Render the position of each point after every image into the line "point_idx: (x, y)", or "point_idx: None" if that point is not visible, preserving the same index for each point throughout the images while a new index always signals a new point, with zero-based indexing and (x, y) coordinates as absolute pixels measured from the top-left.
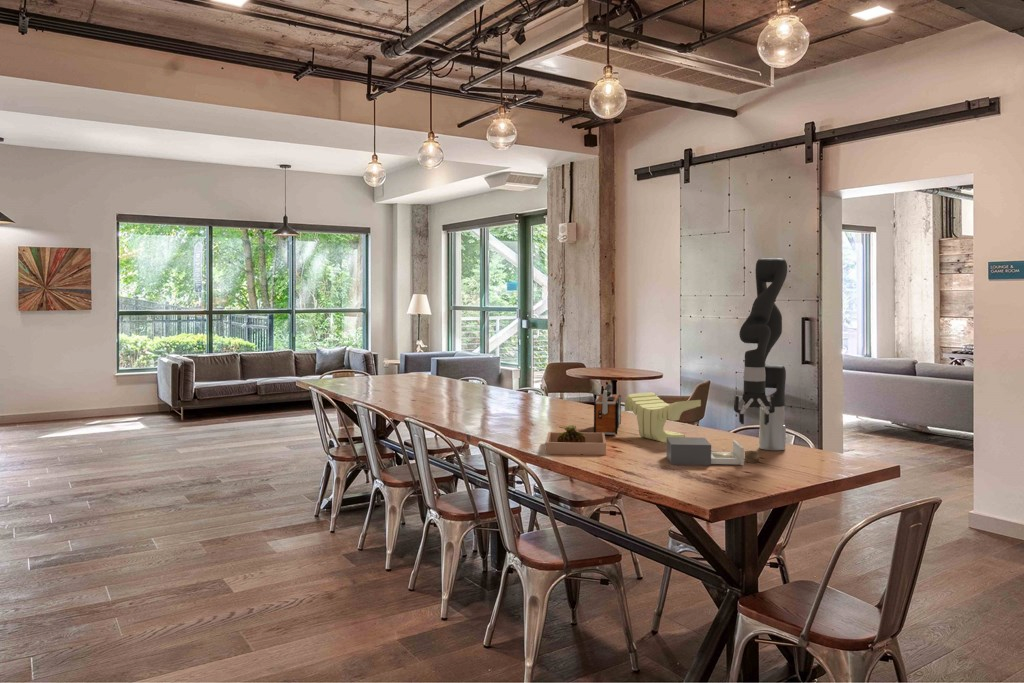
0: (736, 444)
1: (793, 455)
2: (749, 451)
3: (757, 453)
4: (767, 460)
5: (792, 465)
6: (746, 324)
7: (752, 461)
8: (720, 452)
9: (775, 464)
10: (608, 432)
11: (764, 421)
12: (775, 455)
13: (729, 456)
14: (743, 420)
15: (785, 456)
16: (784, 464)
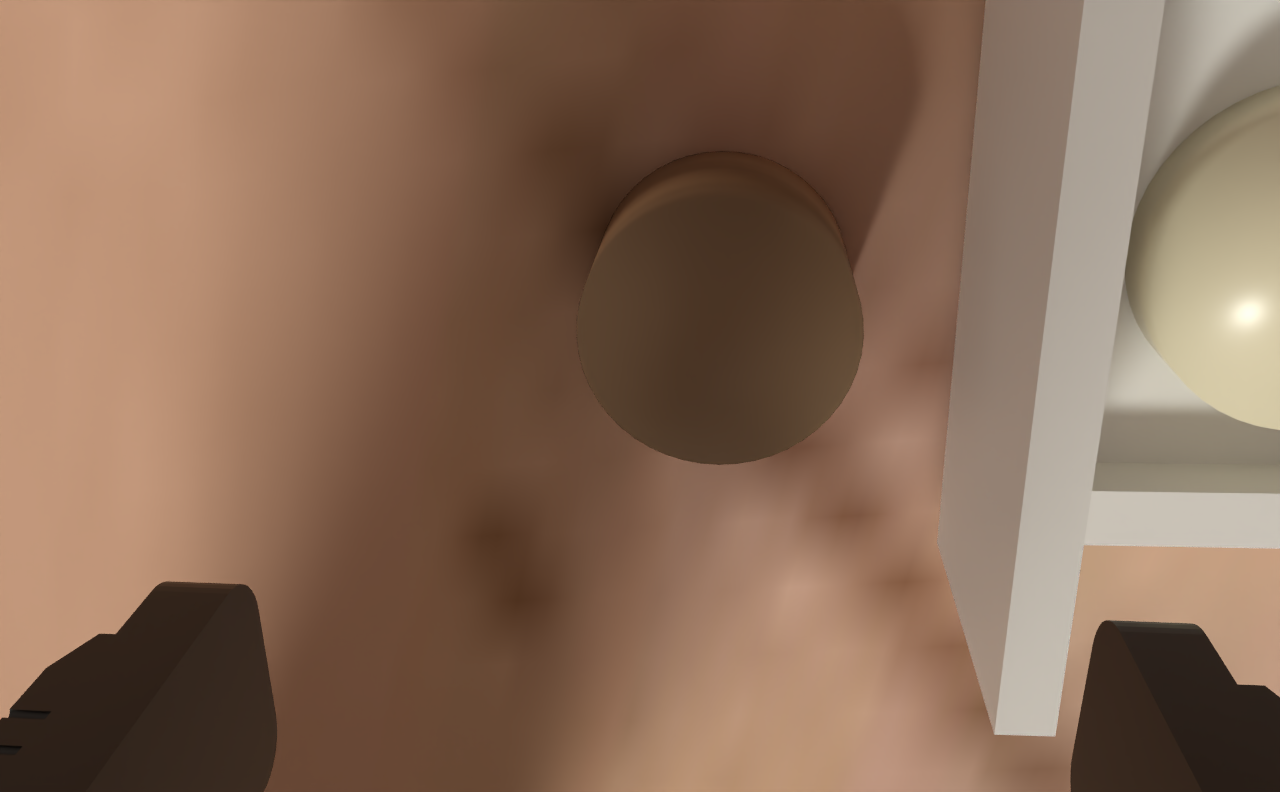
0: (1103, 375)
1: None
2: (761, 381)
3: (633, 219)
4: (438, 384)
5: (54, 9)
6: None
7: (741, 156)
8: (1270, 520)
9: (344, 67)
10: None
11: (221, 736)
12: None
13: (1244, 128)
14: (1177, 710)
15: None
16: (187, 84)
